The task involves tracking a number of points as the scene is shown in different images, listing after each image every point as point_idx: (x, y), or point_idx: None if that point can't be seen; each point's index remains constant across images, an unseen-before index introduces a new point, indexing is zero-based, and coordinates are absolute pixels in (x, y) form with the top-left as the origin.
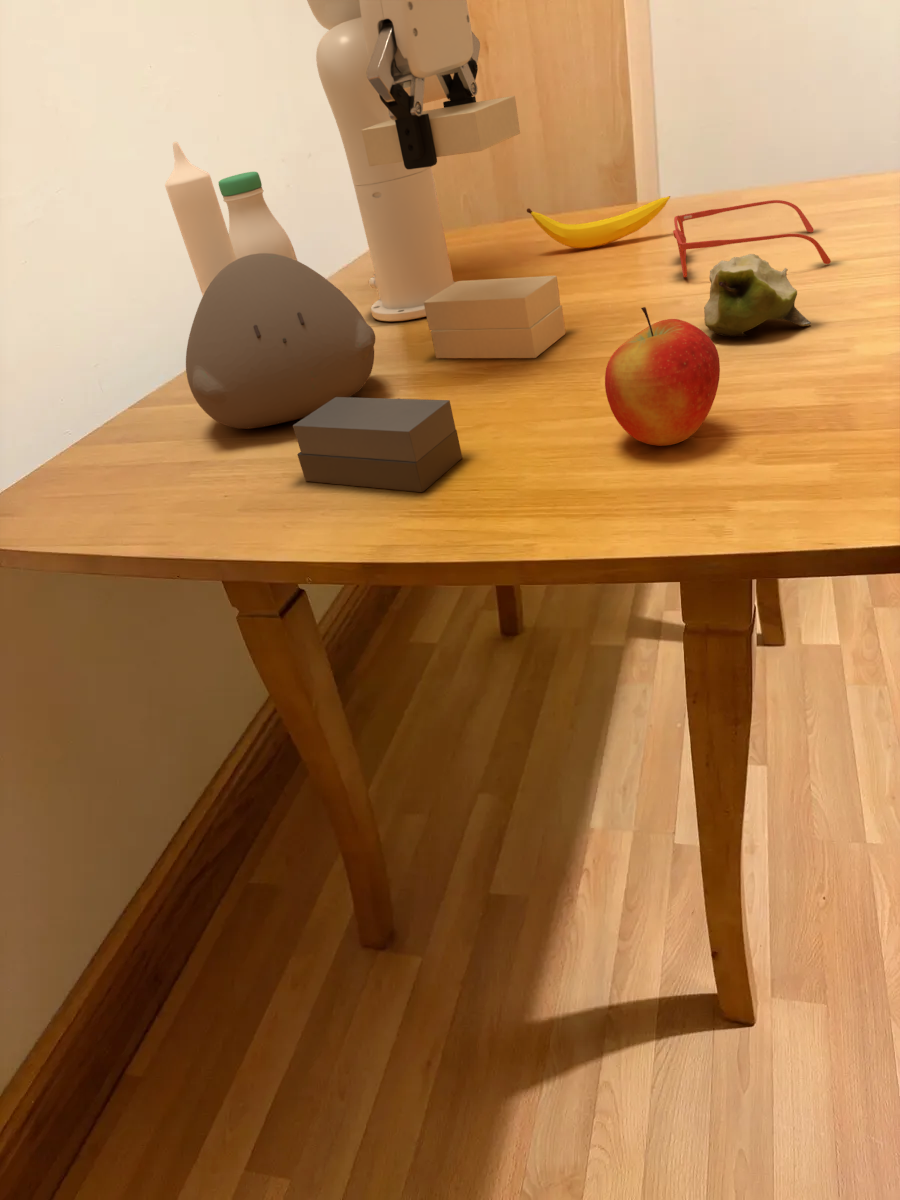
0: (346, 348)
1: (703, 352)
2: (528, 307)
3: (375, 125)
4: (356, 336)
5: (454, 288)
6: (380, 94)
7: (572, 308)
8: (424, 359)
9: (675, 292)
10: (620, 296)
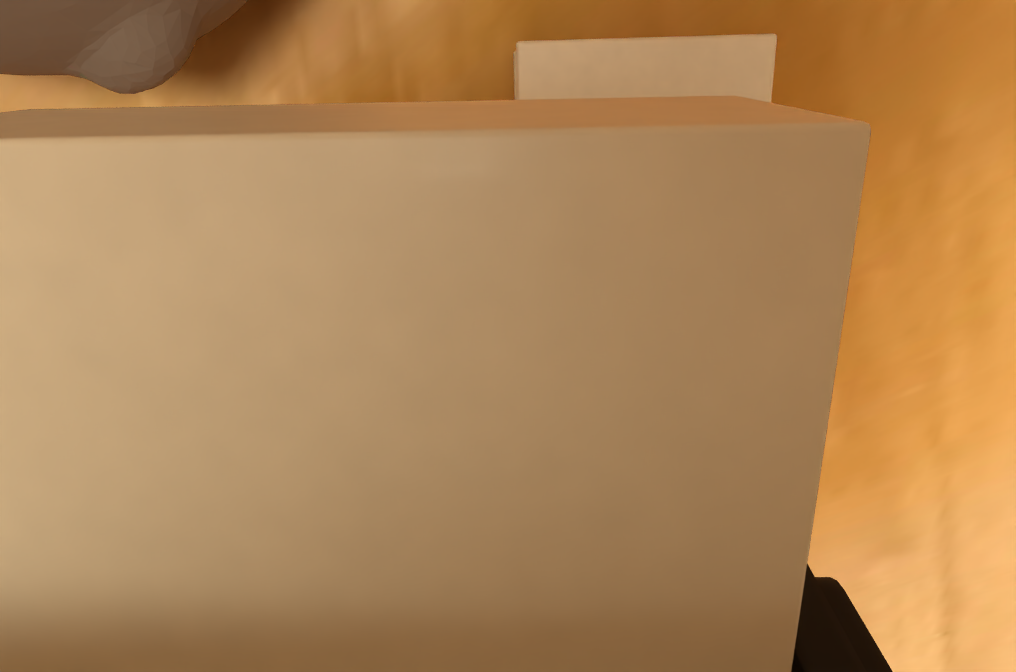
0: (13, 71)
1: None
2: None
3: (9, 200)
4: (75, 61)
5: (671, 87)
6: None
7: (923, 285)
8: (509, 5)
9: (984, 517)
10: (998, 385)
